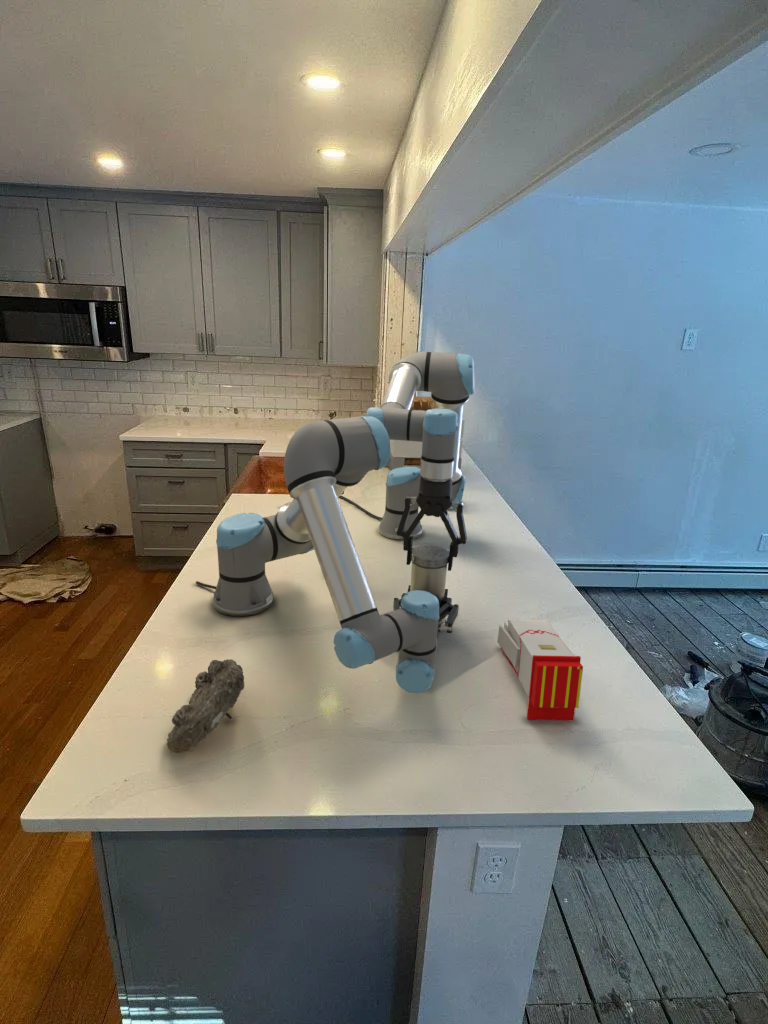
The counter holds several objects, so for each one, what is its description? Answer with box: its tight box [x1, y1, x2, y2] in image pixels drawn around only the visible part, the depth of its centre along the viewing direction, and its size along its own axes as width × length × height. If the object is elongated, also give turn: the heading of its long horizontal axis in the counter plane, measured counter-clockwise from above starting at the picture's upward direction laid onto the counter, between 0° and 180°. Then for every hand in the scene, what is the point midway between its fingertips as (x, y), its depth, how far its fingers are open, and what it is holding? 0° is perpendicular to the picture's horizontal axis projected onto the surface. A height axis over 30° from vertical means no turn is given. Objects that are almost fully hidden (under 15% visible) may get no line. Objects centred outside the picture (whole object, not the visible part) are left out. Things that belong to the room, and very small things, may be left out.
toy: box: [497, 618, 584, 722], centre depth 122 cm, size 12×13×30 cm
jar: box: [410, 561, 448, 624], centre depth 141 cm, size 9×9×19 cm
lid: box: [410, 544, 449, 567], centre depth 138 cm, size 10×10×2 cm
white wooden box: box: [385, 395, 465, 472], centre depth 268 cm, size 34×33×41 cm
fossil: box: [166, 658, 245, 754], centre depth 106 cm, size 22×10×15 cm
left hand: (428, 591), depth 146 cm, fingers closed on jar, 9 cm apart
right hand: (429, 565), depth 138 cm, fingers closed on lid, 9 cm apart
